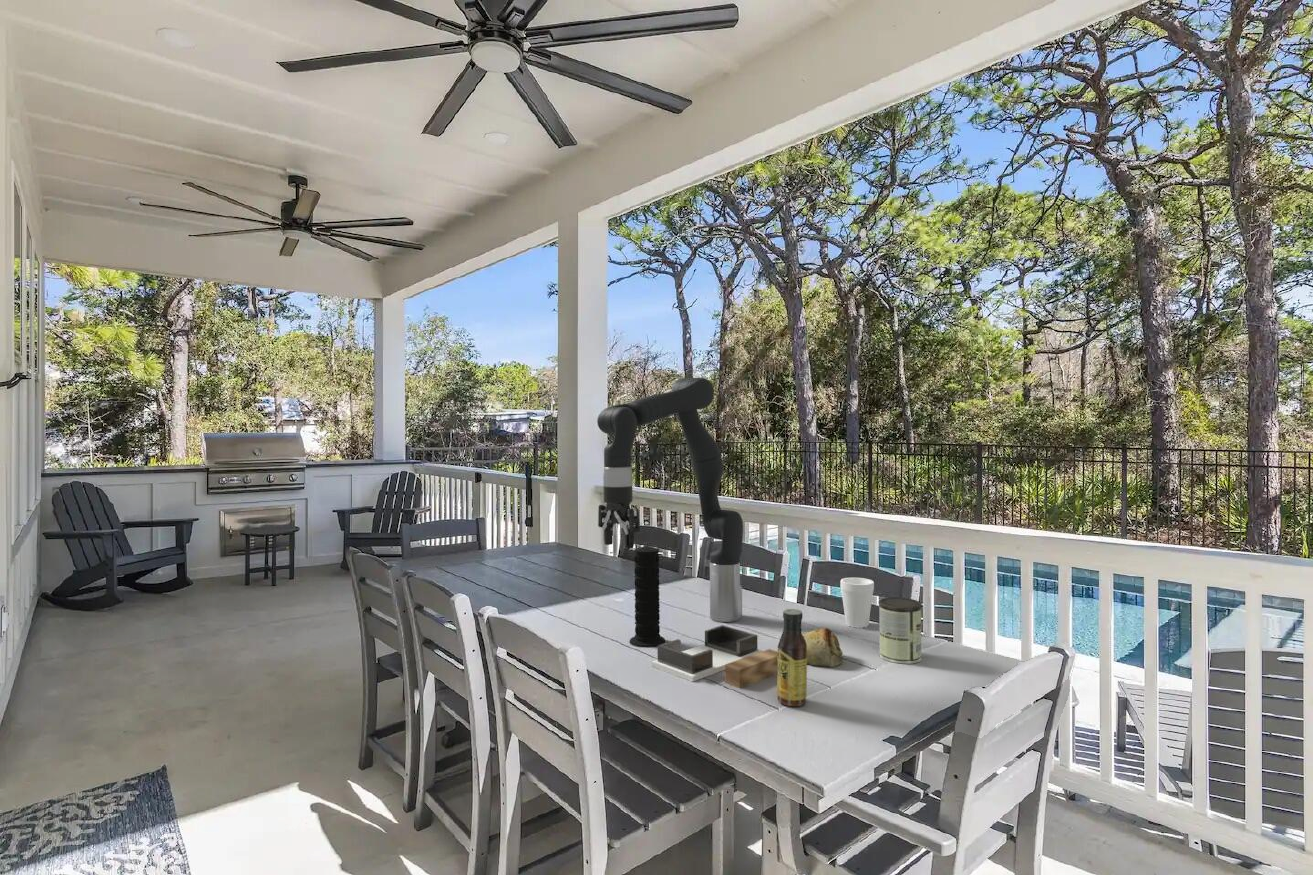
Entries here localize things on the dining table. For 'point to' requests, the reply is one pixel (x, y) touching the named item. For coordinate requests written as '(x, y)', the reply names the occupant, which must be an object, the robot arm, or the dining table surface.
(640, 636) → the handle grip
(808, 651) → the pastry
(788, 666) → the sauce bottle
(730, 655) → the mounting board
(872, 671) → the dining table surface
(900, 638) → the coffee can
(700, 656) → the brackets
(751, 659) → the oak rail
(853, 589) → the foam cup
